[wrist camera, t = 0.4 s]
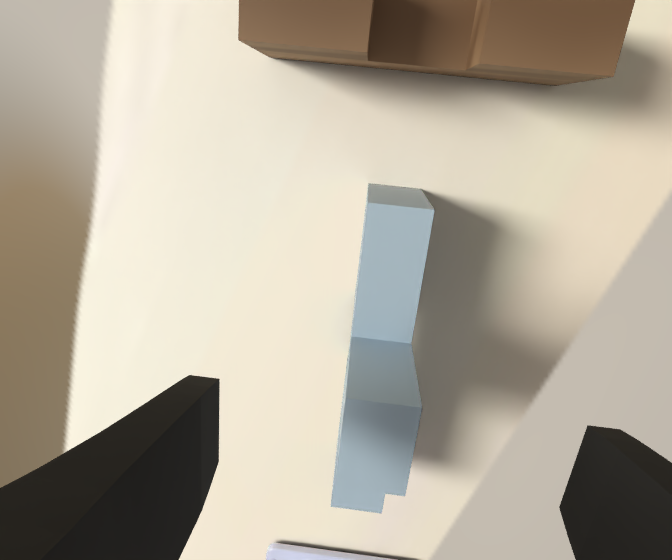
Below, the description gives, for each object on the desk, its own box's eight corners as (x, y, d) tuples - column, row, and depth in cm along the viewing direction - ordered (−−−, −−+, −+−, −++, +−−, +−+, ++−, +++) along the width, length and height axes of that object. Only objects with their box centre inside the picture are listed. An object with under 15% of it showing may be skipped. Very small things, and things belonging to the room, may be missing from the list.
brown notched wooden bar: (555, 85, 16) (613, 76, 12) (269, 57, 16) (238, 39, 12) (571, 20, 15) (638, -12, 11) (272, -9, 15) (240, -48, 12)
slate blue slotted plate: (379, 443, 21) (383, 604, 14) (337, 437, 21) (321, 595, 14) (420, 189, 17) (454, 240, 10) (368, 183, 17) (366, 230, 10)
